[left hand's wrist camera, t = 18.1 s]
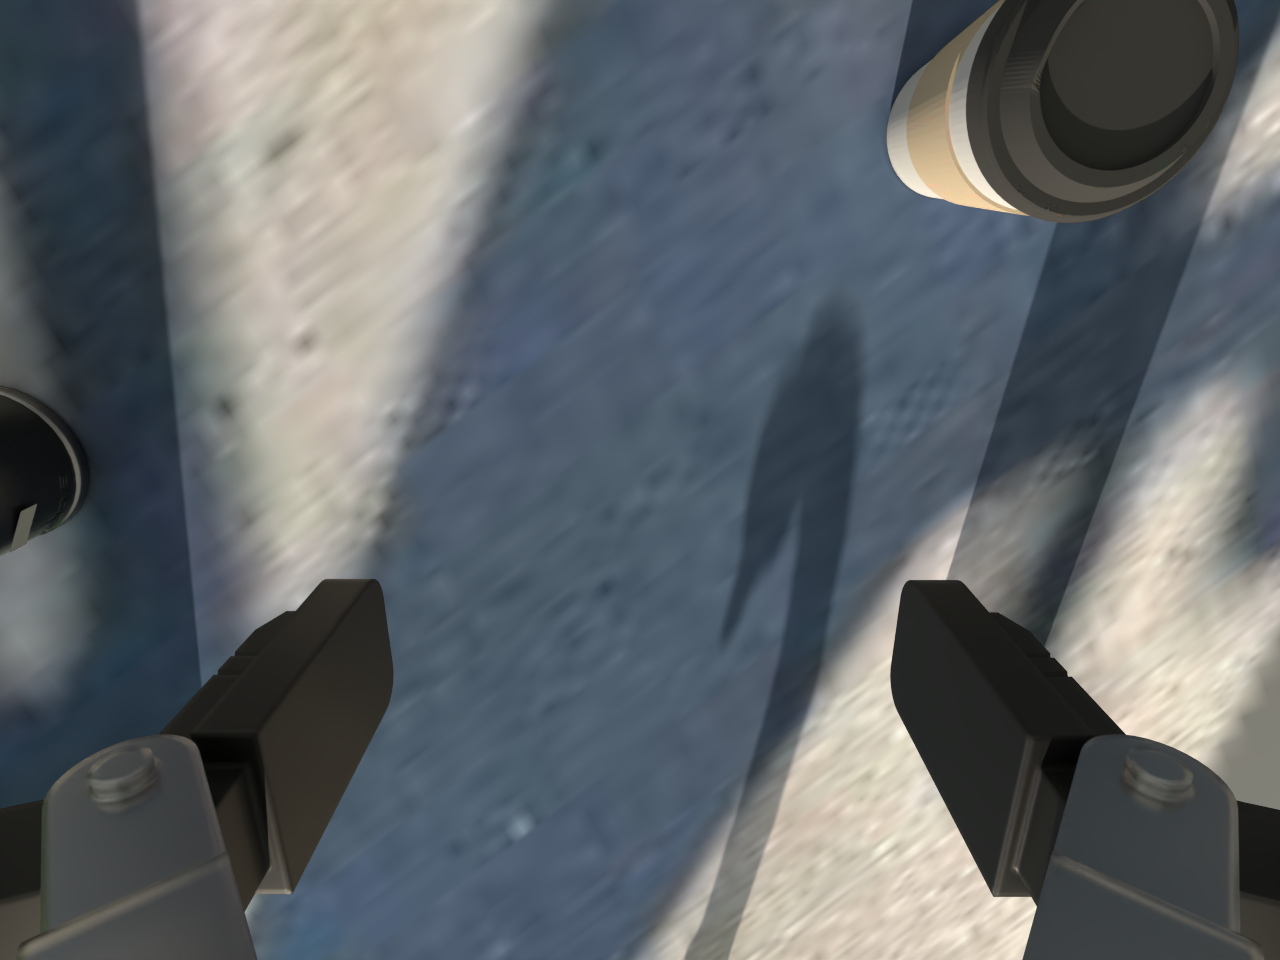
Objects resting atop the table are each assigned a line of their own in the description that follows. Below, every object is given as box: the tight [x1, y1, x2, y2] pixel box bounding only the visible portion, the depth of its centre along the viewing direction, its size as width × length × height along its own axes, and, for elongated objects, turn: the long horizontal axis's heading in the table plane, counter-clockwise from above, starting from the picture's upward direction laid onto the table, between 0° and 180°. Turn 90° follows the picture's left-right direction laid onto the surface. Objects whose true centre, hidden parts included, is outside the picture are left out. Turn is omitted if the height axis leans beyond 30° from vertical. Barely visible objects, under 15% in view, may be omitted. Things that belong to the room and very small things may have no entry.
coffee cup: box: [887, 0, 1239, 223], centre depth 31 cm, size 9×9×15 cm
